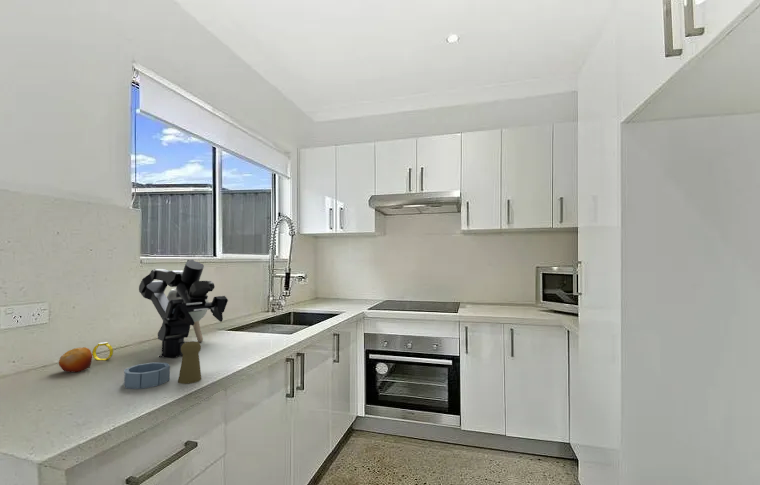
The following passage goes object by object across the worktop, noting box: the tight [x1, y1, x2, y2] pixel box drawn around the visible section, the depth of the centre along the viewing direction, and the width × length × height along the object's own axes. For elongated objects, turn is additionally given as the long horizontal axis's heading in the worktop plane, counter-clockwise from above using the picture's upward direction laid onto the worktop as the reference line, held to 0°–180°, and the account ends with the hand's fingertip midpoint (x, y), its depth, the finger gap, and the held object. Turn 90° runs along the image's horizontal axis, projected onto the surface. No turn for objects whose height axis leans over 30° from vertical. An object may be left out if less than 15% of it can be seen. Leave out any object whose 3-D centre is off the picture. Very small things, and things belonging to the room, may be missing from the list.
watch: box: [91, 341, 114, 361], centre depth 124 cm, size 6×3×6 cm, turn 95°
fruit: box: [58, 346, 93, 373], centre depth 113 cm, size 8×8×8 cm
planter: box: [166, 288, 209, 343], centre depth 152 cm, size 16×16×22 cm
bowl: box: [122, 362, 171, 390], centre depth 103 cm, size 11×11×4 cm
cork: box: [177, 340, 202, 385], centre depth 105 cm, size 6×6×11 cm
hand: (208, 322), depth 116 cm, fingers open, 9 cm apart
